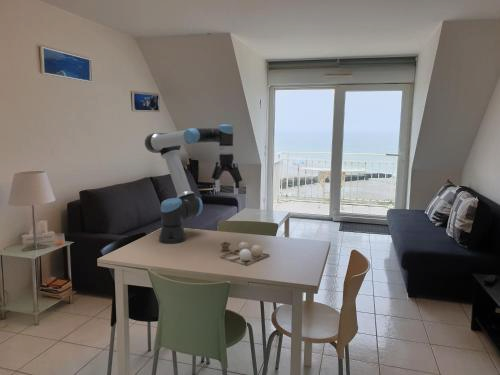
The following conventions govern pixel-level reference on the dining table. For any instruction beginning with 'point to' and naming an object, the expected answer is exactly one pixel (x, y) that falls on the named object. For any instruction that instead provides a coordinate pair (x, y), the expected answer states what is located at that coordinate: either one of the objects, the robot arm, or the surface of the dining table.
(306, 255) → the dining table surface
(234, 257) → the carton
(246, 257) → the white ball
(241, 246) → the pale beige ball
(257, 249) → the cream white ball
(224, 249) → the stand
